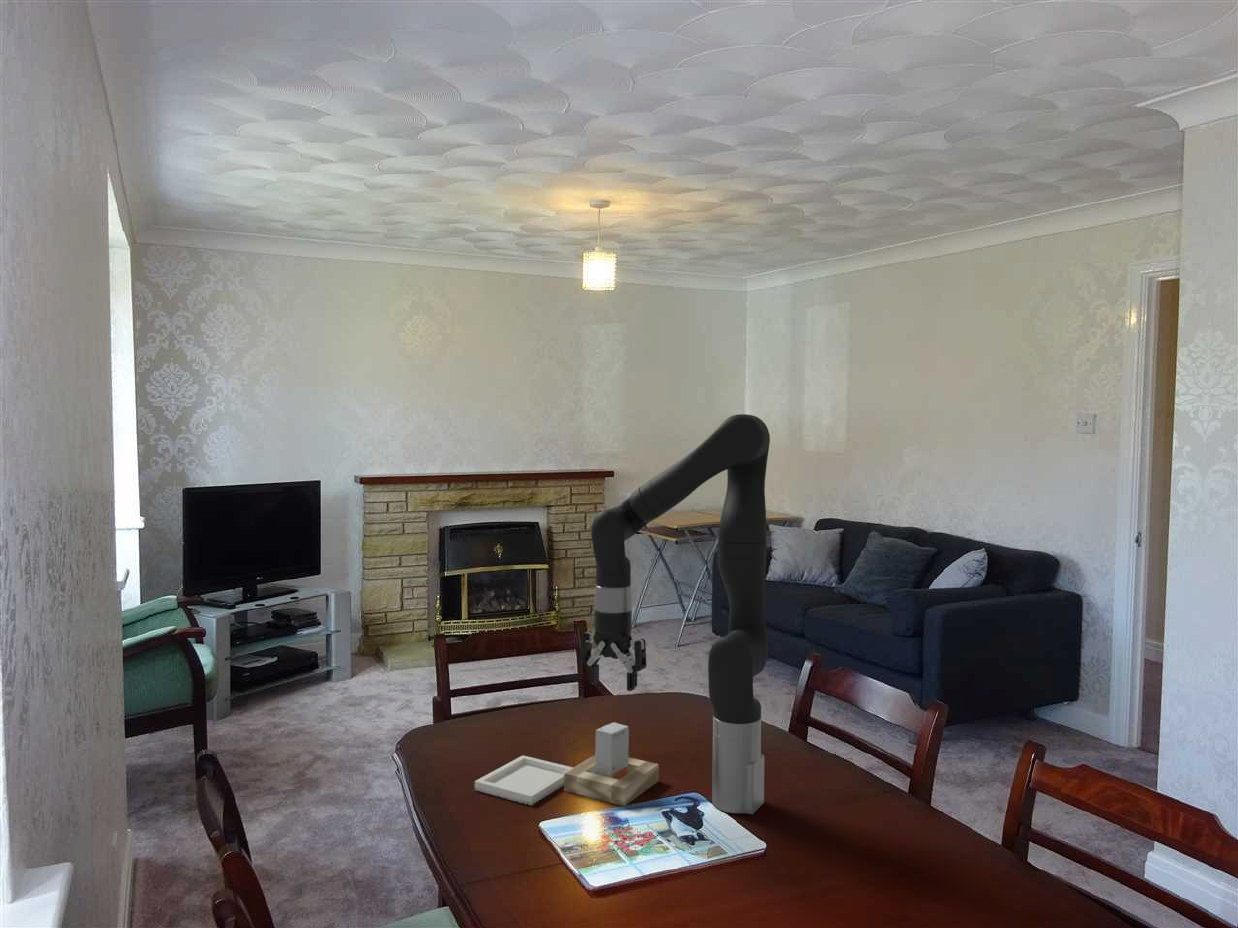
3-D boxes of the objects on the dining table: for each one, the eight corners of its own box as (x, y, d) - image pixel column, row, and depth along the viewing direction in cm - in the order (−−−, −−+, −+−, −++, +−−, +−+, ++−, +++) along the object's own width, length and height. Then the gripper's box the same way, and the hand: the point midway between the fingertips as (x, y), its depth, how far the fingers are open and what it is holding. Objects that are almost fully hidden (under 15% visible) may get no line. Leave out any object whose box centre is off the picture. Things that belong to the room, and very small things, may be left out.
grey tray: (576, 776, 182) (576, 768, 182) (531, 805, 168) (531, 796, 168) (522, 763, 189) (522, 755, 189) (474, 789, 175) (474, 781, 175)
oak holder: (658, 780, 180) (658, 764, 180) (624, 806, 168) (624, 788, 168) (600, 766, 187) (600, 750, 187) (564, 790, 175) (564, 773, 175)
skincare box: (611, 793, 174) (611, 734, 173) (594, 787, 176) (594, 729, 176) (629, 783, 179) (629, 725, 178) (612, 778, 181) (613, 721, 181)
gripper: (653, 607, 175) (652, 687, 176) (593, 600, 183) (592, 676, 183) (634, 614, 169) (634, 697, 170) (573, 606, 176) (572, 685, 177)
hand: (612, 686), depth 177 cm, fingers open, 8 cm apart
